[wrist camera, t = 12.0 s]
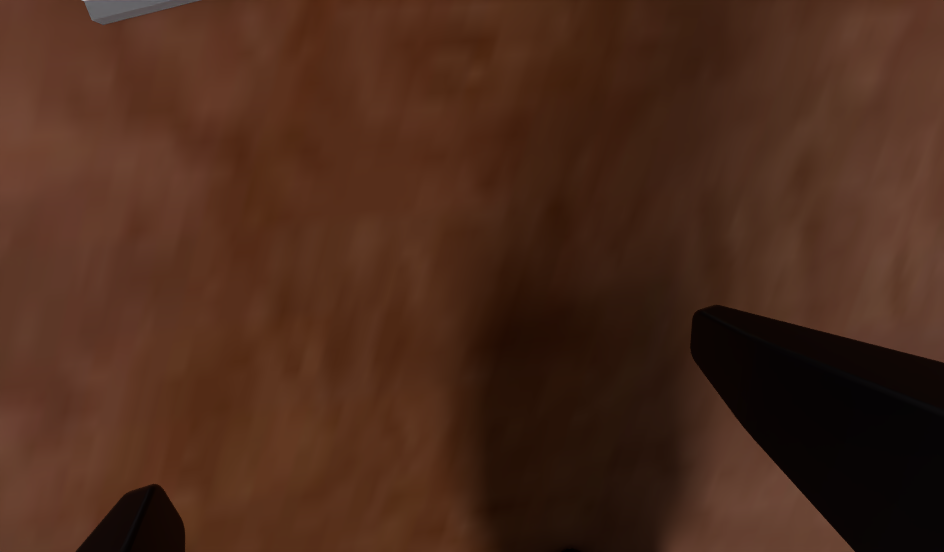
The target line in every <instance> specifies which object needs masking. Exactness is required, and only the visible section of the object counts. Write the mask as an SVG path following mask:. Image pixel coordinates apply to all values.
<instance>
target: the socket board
mask: <svg viewBox="0 0 944 552" xmlns="http://www.w3.org/2000/svg"><path fill="white" fill-rule="evenodd" d="M82 1H84V2H85V5H86V7H87V9H88V12H89V14H90V17H91V19H92V20H93V21H95V22H98V23H100V24H102V25H104V24H108V23H112V22H116V21H120V20H124V19H128V18H132V17H136V16H140V15H144V14H148V13H152V12H156V11H160V10H164V9H168V8H172V7H176V6H180V5H184V4H188V3H192V2H196V1H200V0H82Z"/></svg>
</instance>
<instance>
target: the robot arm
mask: <svg viewBox="0 0 944 552" xmlns="http://www.w3.org/2000/svg"><path fill="white" fill-rule="evenodd" d="M690 349H691V354H692V357H693V359H694V361H695V362H696V364H697V365H698V366H699V368H700V369H701V370H702V372H703V373H704V375H705V376H706V377H707V379H708V380H709V381H710V383H711V384H712V385H713V387H714V388H715V389H716V391H717V392H718V394H719V395H720V396H721V398H722V399H723V400H724V402H725V403H726V404H727V406H728V407H729V409H730V410H731V411H732V413H733V414H734V415H735V417H736V418H737V419H738V421H739V422H740V423H741V424H742V426H743V427H744V428H745V429H746V431H747V432H748V433H749V434H750V435H751V436H752V438H753V439H754V440H755V441H756V442H757V443H758V444H759V445H760V446H761V448H762V449H763V450H764V451H765V452H766V453H767V454H768V455H769V457H770V458H771V459H772V460H773V461H774V462H775V463H776V464H777V465H778V467H779V468H780V469H781V470H782V471H783V472H784V473H785V474H786V475H787V477H788V478H789V479H790V480H791V481H792V482H793V483H794V484H795V485H796V487H797V488H798V489H799V490H800V491H801V492H802V493H803V494H804V495H805V497H806V498H807V499H808V500H809V501H810V502H811V503H812V504H813V505H814V507H815V508H816V509H817V510H818V511H819V512H820V513H821V514H822V515H823V517H824V518H825V519H826V520H827V521H828V522H829V523H830V524H831V525H832V527H833V528H834V529H835V530H836V531H837V532H838V533H839V534H840V535H841V537H842V538H843V539H844V540H845V541H846V542H847V543H848V544H849V545H850V547H851V548H852V549H853V550H854V551H855V552H944V363H943V362H939V361H935V360H931V359H927V358H924V357H920V356H916V355H912V354H908V353H904V352H900V351H896V350H892V349H888V348H884V347H881V346H877V345H873V344H869V343H865V342H861V341H857V340H853V339H849V338H845V337H841V336H837V335H834V334H830V333H826V332H822V331H818V330H814V329H810V328H806V327H802V326H798V325H795V324H791V323H787V322H783V321H779V320H775V319H771V318H767V317H763V316H759V315H755V314H752V313H748V312H744V311H740V310H736V309H732V308H728V307H724V306H720V305H713V306H709V307H706V308H703V309H700V310H698V311H696V312H695V313H694V315H693V319H692V331H691V343H690ZM76 552H185V529H184V524H183V521H182V519H181V517H180V515H179V514H178V512H177V510H176V509H175V507H174V506H173V504H172V502H171V501H170V499H169V497H168V496H167V494H166V493H165V491H164V489H163V488H162V487H161V486H159V485H157V484H151V485H148V486H145V487H142V488H139V489H136V490H132V491H130V492H128V493H126V494H125V495H124V496H123V497H122V498H121V499H120V500H119V501H118V502H117V504H116V505H115V506H114V507H113V508H112V509H111V511H110V512H109V513H108V514H107V515H106V516H105V518H104V519H103V520H102V521H101V522H100V524H99V525H98V526H97V527H96V528H95V529H94V531H93V532H92V533H91V534H90V535H89V536H88V538H87V539H86V540H85V541H84V542H83V543H82V545H81V546H80V547H79V548H78V549H77V551H76ZM562 552H579V551H577V550H575V549H566V550H564V551H562Z"/></svg>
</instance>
